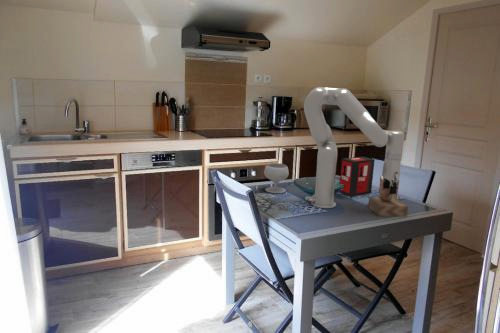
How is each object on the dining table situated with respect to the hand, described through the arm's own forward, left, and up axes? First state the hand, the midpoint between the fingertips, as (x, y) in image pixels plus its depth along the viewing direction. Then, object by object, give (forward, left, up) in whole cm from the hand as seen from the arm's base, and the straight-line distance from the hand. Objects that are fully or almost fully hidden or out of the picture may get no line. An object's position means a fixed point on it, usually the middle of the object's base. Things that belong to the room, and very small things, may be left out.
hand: (389, 191), depth 189 cm
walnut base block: (0, 0, -10) cm, 10 cm away
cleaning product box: (-6, +31, -11) cm, 33 cm away
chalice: (-52, +33, -10) cm, 62 cm away
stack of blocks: (+10, +24, -11) cm, 28 cm away
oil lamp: (0, 0, -5) cm, 5 cm away
